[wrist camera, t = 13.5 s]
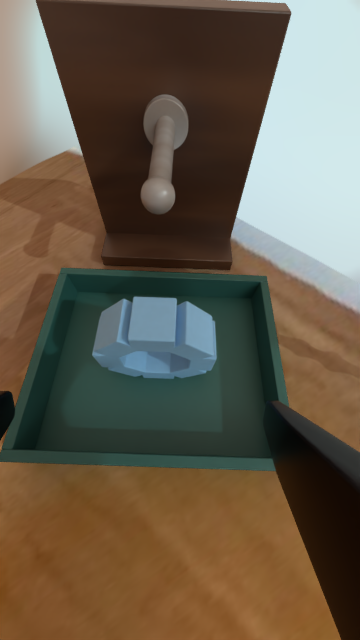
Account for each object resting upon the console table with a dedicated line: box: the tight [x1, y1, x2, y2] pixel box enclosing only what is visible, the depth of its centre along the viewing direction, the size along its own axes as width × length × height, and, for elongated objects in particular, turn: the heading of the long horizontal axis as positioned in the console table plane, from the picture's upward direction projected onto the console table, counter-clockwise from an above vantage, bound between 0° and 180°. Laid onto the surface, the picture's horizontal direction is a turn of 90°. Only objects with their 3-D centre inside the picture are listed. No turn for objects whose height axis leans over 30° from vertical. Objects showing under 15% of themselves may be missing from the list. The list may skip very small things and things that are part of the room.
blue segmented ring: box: [92, 297, 217, 379], centre depth 15 cm, size 2×7×7 cm, turn 88°
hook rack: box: [36, 0, 291, 270], centre depth 17 cm, size 11×12×15 cm
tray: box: [0, 268, 289, 471], centre depth 17 cm, size 13×16×3 cm
